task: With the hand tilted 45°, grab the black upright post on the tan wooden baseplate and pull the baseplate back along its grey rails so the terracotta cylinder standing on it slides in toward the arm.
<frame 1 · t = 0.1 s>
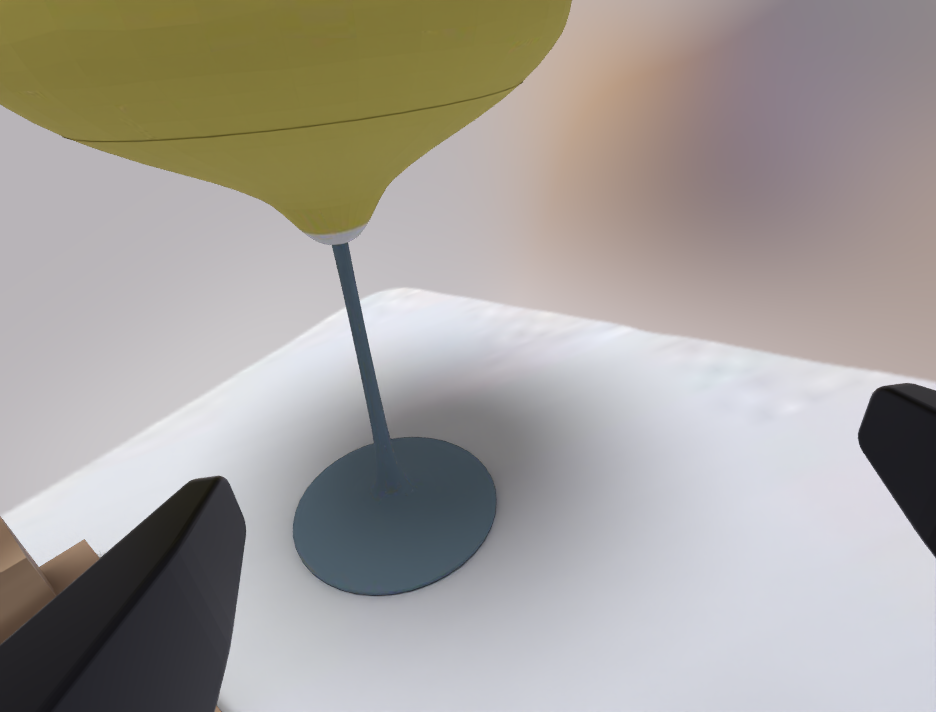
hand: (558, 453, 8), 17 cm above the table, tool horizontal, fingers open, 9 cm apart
cocktail glass: (396, 509, 29), on the table
walnut cube: (5, 628, 23), point 1 cm above the table, touching broken strip
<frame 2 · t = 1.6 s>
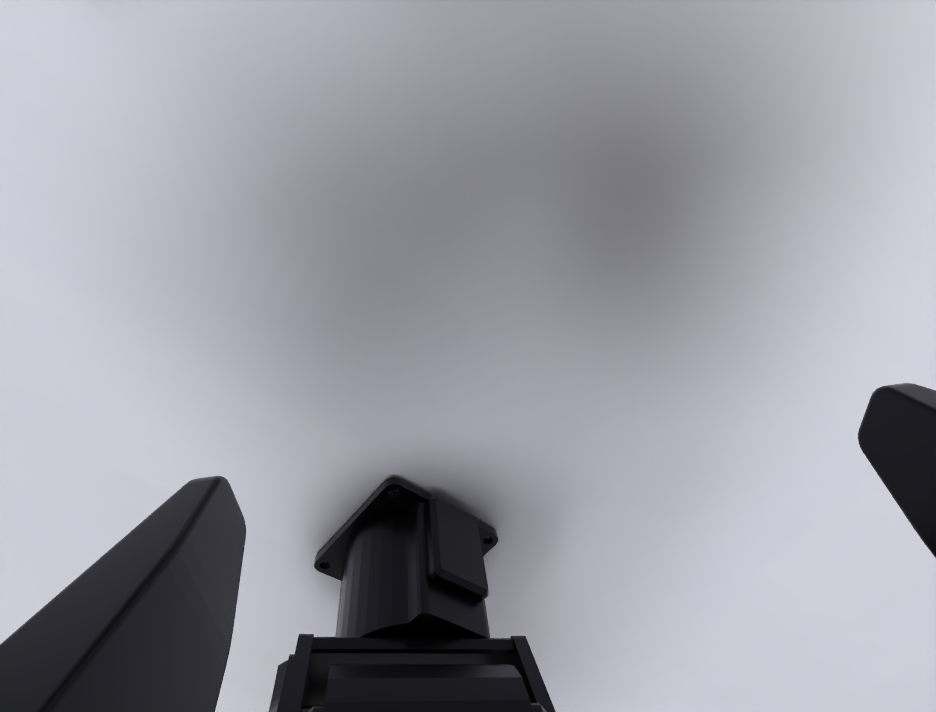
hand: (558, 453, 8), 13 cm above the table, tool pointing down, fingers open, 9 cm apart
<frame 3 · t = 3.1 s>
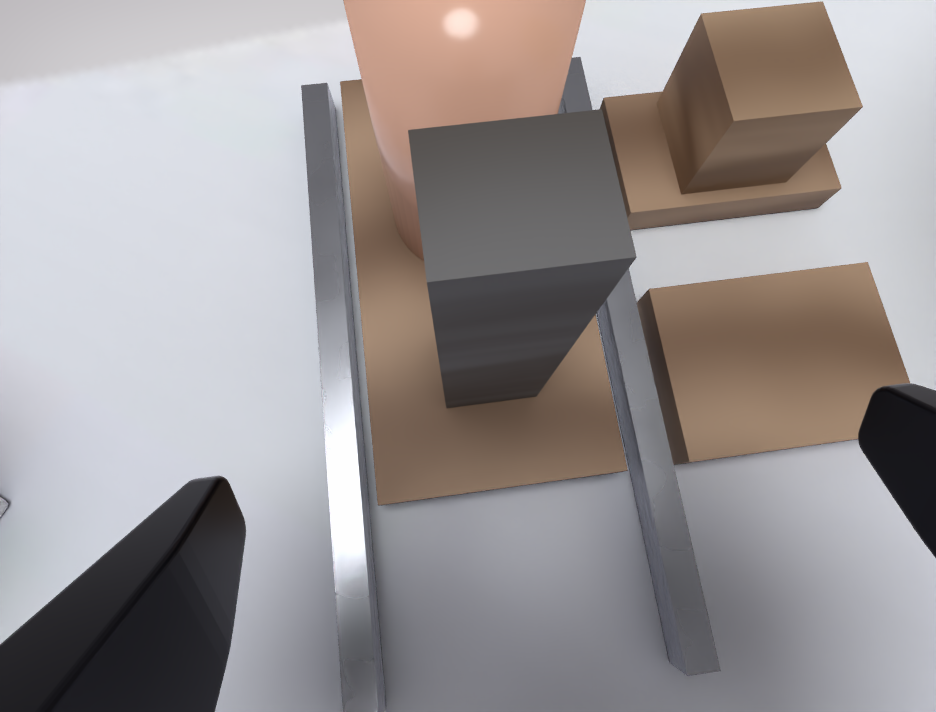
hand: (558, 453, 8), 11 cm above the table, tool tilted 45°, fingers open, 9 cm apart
tan wooden baseplate: (473, 179, 15), point 6 cm above the table, slide at 0.0 cm, touching terracotta cylinder
lane rails: (484, 375, 20), on the table
terracotta cylinder: (462, 208, 20), point 1 cm above the table, touching tan wooden baseplate
broken strip: (753, 340, 20), on the table
walnut cube: (720, 142, 21), point 1 cm above the table, touching broken strip
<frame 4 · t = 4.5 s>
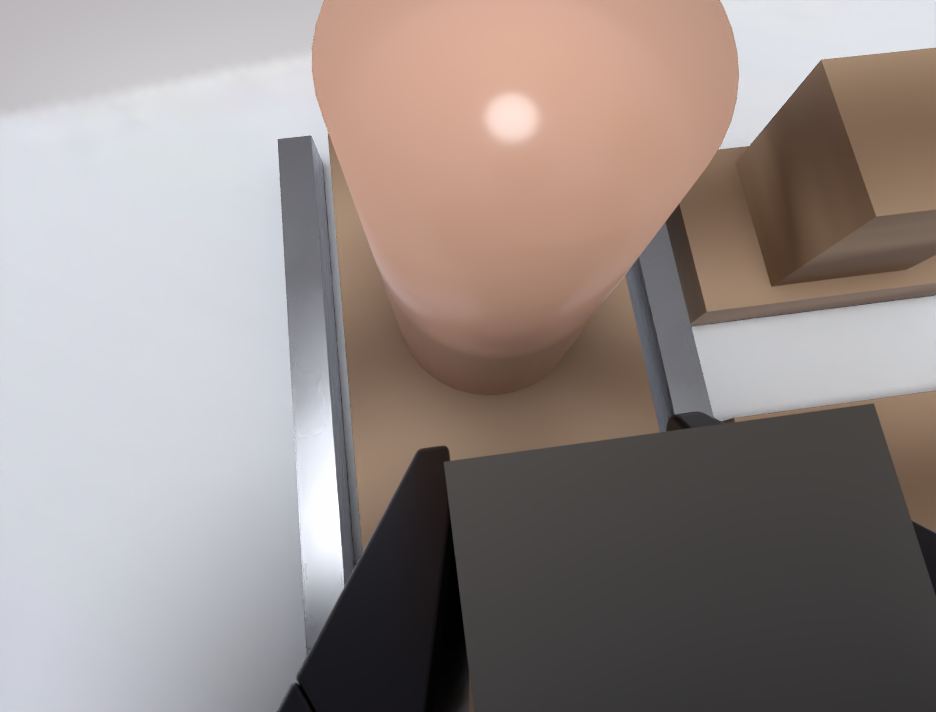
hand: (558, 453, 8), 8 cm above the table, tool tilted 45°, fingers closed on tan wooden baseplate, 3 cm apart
tan wooden baseplate: (515, 318, 10), point 6 cm above the table, slide at 0.0 cm, touching gripper, terracotta cylinder
lane rails: (515, 525, 15), on the table
terracotta cylinder: (487, 306, 15), point 1 cm above the table, touching tan wooden baseplate
broken strip: (863, 475, 15), on the table
walnut cube: (818, 215, 16), point 1 cm above the table, touching broken strip
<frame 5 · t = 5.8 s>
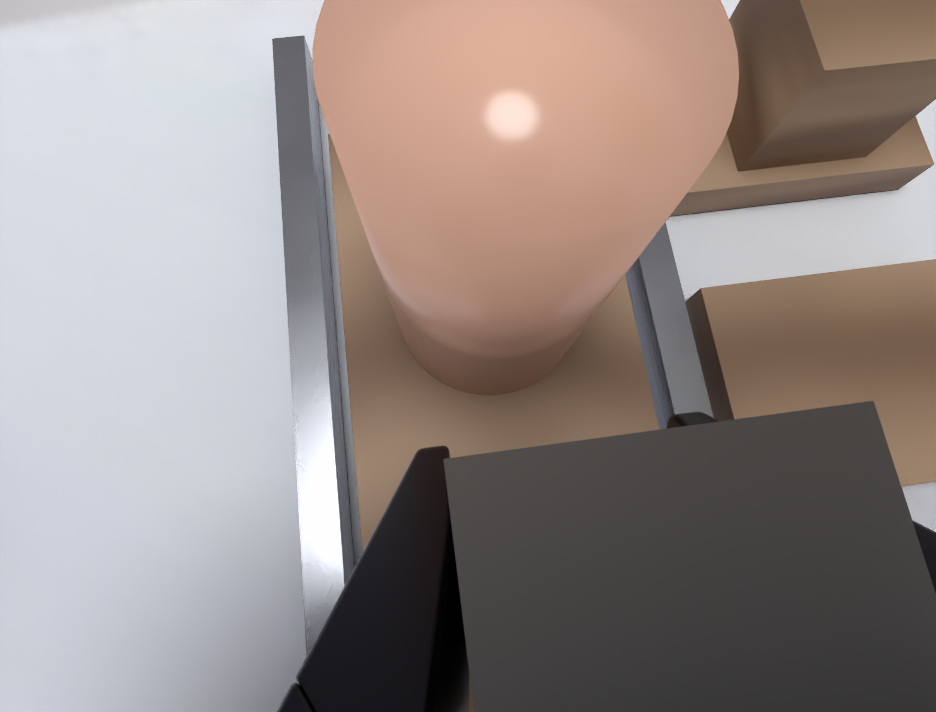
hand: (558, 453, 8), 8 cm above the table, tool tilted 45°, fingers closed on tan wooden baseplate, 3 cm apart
tan wooden baseplate: (515, 317, 10), point 6 cm above the table, slide at 3.7 cm, touching gripper, terracotta cylinder
lane rails: (496, 394, 16), on the table
terracotta cylinder: (487, 306, 15), point 1 cm above the table, touching tan wooden baseplate
broken strip: (825, 351, 16), on the table
walnut cube: (783, 108, 17), point 1 cm above the table, touching broken strip
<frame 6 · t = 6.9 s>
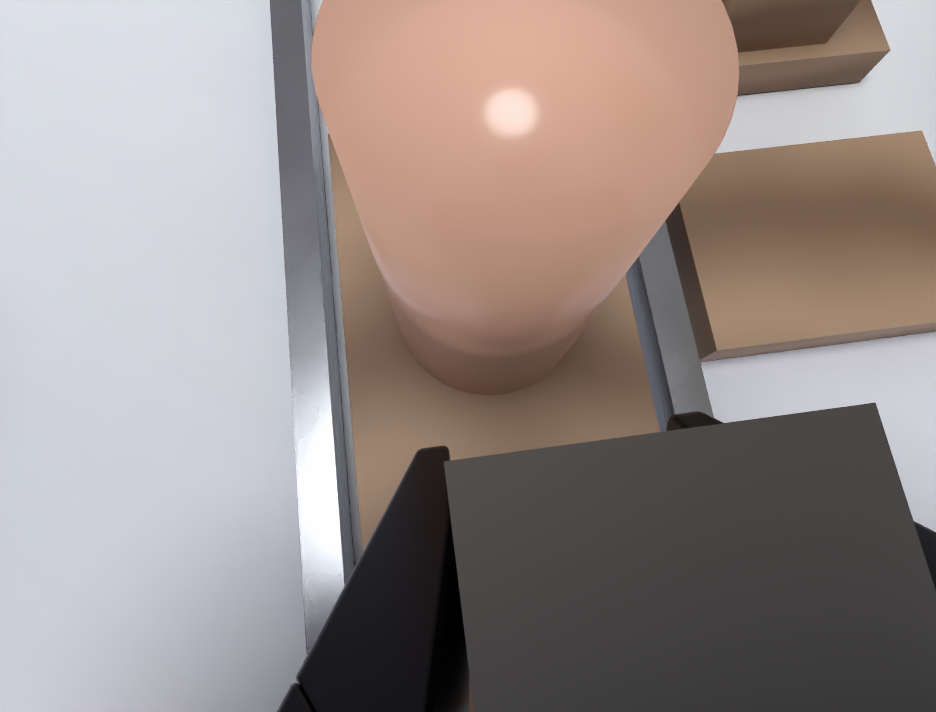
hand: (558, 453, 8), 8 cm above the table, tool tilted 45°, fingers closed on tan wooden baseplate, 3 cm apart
tan wooden baseplate: (515, 317, 10), point 6 cm above the table, slide at 7.9 cm, touching gripper, terracotta cylinder
lane rails: (476, 263, 17), on the table
terracotta cylinder: (487, 306, 15), point 1 cm above the table, touching tan wooden baseplate
broken strip: (787, 226, 17), on the table
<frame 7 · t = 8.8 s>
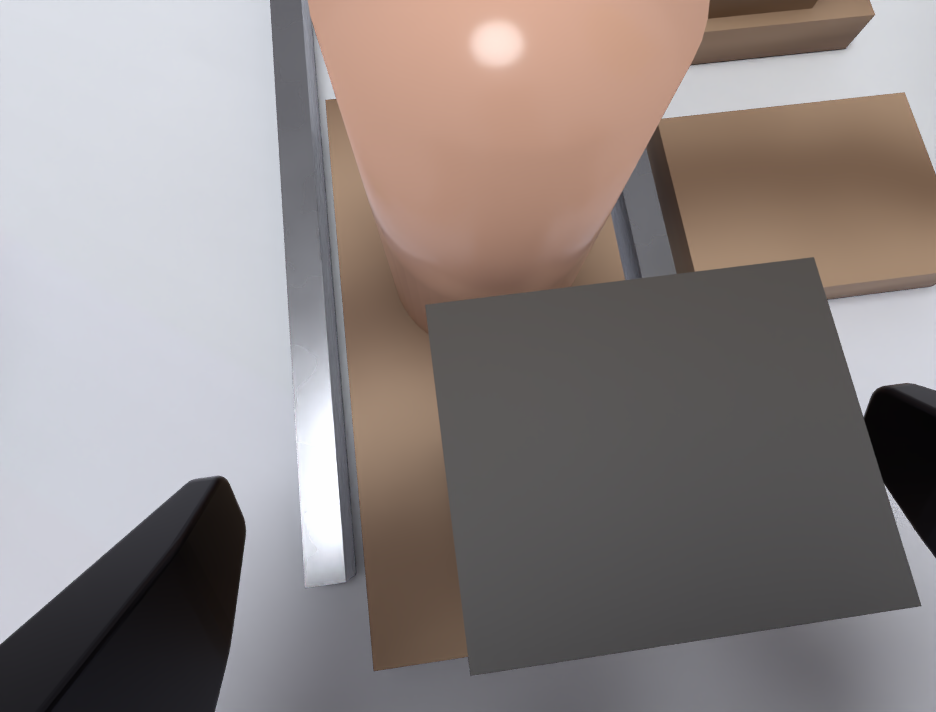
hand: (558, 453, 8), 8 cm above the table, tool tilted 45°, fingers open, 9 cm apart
tan wooden baseplate: (505, 260, 10), point 6 cm above the table, slide at 8.1 cm, touching terracotta cylinder
lane rails: (470, 222, 17), on the table
terracotta cylinder: (481, 266, 15), point 1 cm above the table, touching tan wooden baseplate
broken strip: (773, 187, 18), on the table
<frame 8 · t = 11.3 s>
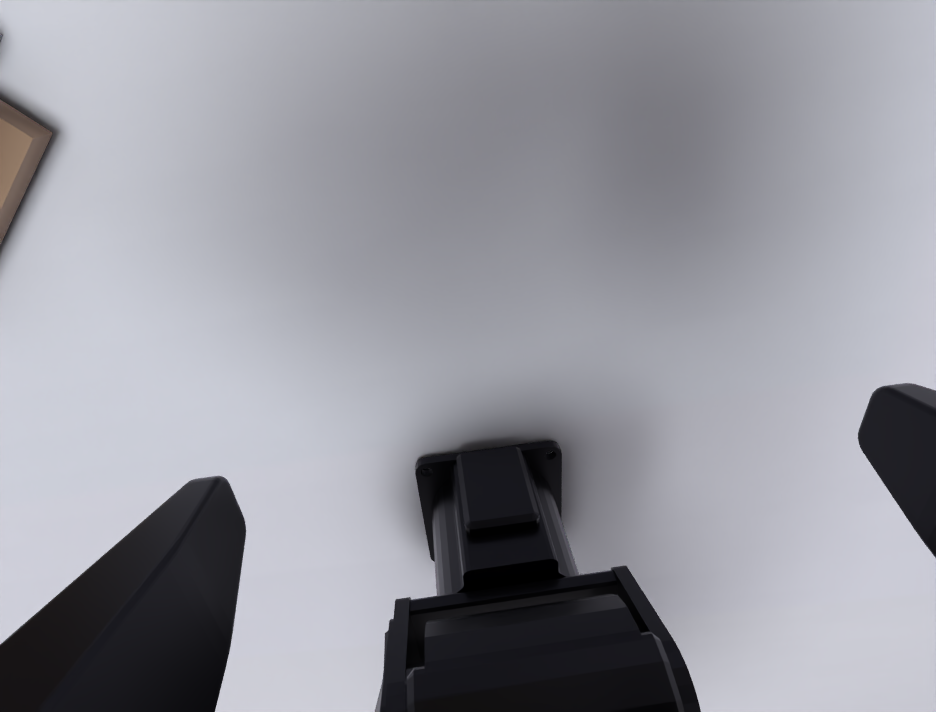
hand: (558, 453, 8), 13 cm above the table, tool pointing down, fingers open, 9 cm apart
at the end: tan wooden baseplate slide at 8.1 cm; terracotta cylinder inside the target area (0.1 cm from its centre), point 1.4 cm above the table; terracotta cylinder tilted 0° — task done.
